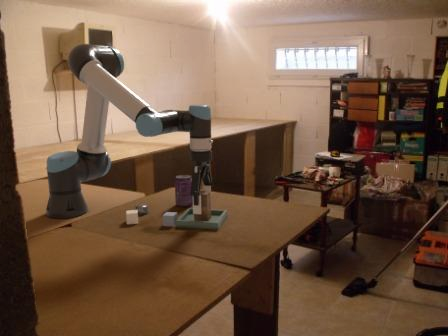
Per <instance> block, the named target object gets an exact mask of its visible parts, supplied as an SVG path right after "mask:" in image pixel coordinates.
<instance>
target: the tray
mask: <svg viewBox="0 0 448 336" xmlns="http://www.w3.org/2000/svg"><path fill="white" fill-rule="evenodd" d="M227 218H228V209H216V208H215V209H212V208H211V219H210V220H209V221H194V214H193V207H190V208H189V207H188V208H187V209H186V210H185V211H184V212H183V213H182V214H181V215H180V216H179V217H178V219H177V220H176V225H175V226H176V228H182V227H183V229H184V227H185V228H186V229H199V230H215V231H217V230H219V229H220V228H221V226H223V224H224V222H225V220H226V219H227Z"/></svg>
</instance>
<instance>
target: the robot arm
mask: <svg viewBox="0 0 448 336" xmlns="http://www.w3.org/2000/svg"><path fill="white" fill-rule="evenodd" d="M67 65H68V68H69V70H70V72H71V73H72V75H73V76H74V77H75V78H76V79H77V80H79V81H80V82H81V83H82V84H84V85H87V91H86V101H85V109H84V117H83V127H82V136H81V142H80V143H78V144H77V146H76V150H67V151H61V152H55V153H53V154H51V155H49V156H48V157H47V158H46V169H45V170H46V175H47V181H48V182H47V183H48V191H49V193H48V194H49V196H48V200H47V204H46V208H45V213H46V216H47V217H48V218H50V219H51V218H52V219H68V218H76V217H78V216H79V217H81V216H82V215H85V214H87V213H88V210H89V209H88V203H87V202H86V200H85V197H84V195H83V192H82V183H84V182H88V181H91V180H95V179H99V178H101V177H104V176H105V175H107V174H108V173H109V171H110V169H111V165H112V160H111V157H110V154H109V152H108V149H107V148H106V146H105V145H104V144H105V138H106V137H105V136H106V128H107V123H108V122H107V121H108V115H109V114H108V113H109V107H110V106H109V105H110V104H111V105H113V106H114V107H116V109H118V110H119V111H121V112H122V113H123V114H124V115H125V116H127V117H128V118H129V119H130V120H132V122H134V123H135V128H136V130H137V132H138V134H139V135H140V136H142V137H145V138H146V137H147V138H148V137H151V138H152V137H157V136H161V135H165V134H171V133H176V132H177V133H178V132H180V133H182V132H184V133H189V149H190V151H189V154H190V158H189V159H190V161H191V162H194V163H195V166H192V169H191V170H192V175H191V179H192V183H191V193H190V196H193V204H192V208H193V214H201V195H200V191H212V188H211V187H212V186H214V182H213V178H212V172H211V166H210V165H211V163H210V161H212V160H213V153H212V152H213V151H212V150H211V149H212V143H214V140H212V112H211V111H212V109H211V106H209V104H191V105H189V106H188V110H180V109H179V110H177V109H176V110H175V109H165V110H162V111H157V110H155V109H154V108H153V107H152V106H151V105H149V104H148V103H147V102H145V101H144V100H143V99H141V98H140V96H138V95H137V94H135V93H134V91H132V90H131V89H130V88H128V87H127V86H126V85H125V84H124V83H122V81H120V80H118V79H117V77H120V75H122V74H123V72H124V70H125V60H124V57H123V55H122V54H121V51H120V50H119V49H117V48H116V47H115V46H110V45H105V44H89V43H82V44H78V45H76V46H73V48H72V49H71V50H70V51H69V53H68V56H67ZM202 184H203V186H202ZM201 189H202V190H201Z"/></svg>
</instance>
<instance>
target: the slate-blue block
mask: <svg viewBox="0 0 448 336" xmlns="http://www.w3.org/2000/svg"><path fill="white" fill-rule="evenodd" d="M178 218H179V217H178V212H175V211H173V212H172V211H171V212H170V211H166V212H165V213H163V214H162V224H163V227H175V226H176V220H177V219H178Z"/></svg>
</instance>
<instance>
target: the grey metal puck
mask: <svg viewBox="0 0 448 336" xmlns="http://www.w3.org/2000/svg"><path fill="white" fill-rule="evenodd" d="M134 210H138V216H144V214H145V215H148V214H149V211H150V210H149V205H148V204H147V203H139V204H135V206H134Z"/></svg>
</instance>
